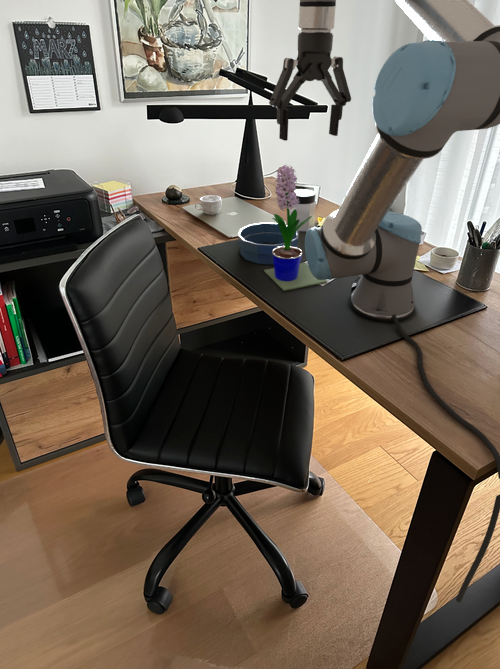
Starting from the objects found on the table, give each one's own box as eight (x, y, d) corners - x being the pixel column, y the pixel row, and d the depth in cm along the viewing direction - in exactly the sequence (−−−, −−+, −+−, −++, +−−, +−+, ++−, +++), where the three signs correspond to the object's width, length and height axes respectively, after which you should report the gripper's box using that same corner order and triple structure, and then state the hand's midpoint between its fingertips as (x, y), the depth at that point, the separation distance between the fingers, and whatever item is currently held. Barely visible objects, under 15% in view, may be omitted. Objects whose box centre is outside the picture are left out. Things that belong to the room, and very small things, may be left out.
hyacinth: (305, 285, 127) (313, 170, 110) (267, 281, 129) (270, 168, 112) (309, 271, 134) (317, 161, 117) (273, 267, 136) (276, 159, 119)
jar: (284, 225, 166) (285, 190, 159) (303, 221, 169) (306, 187, 162) (298, 233, 159) (300, 198, 152) (318, 229, 162) (321, 194, 156)
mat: (326, 282, 129) (327, 281, 129) (284, 291, 125) (284, 289, 125) (304, 263, 139) (304, 262, 139) (264, 271, 135) (264, 269, 135)
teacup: (218, 208, 180) (217, 194, 177) (224, 214, 174) (224, 200, 172) (192, 211, 177) (191, 197, 174) (198, 218, 171) (197, 203, 168)
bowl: (307, 259, 142) (309, 239, 139) (252, 269, 136) (252, 249, 133) (281, 237, 156) (282, 219, 153) (230, 246, 150) (229, 227, 147)
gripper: (354, 30, 108) (344, 130, 120) (255, 31, 100) (254, 138, 112) (374, 31, 103) (361, 135, 114) (270, 32, 94) (268, 144, 106)
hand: (308, 137), depth 113 cm, fingers open, 13 cm apart
